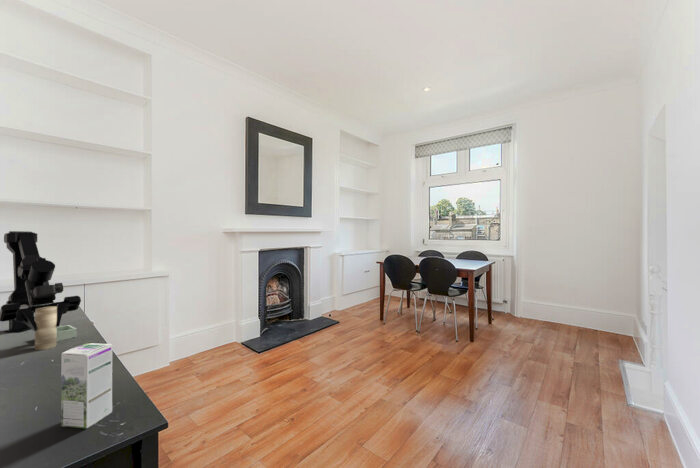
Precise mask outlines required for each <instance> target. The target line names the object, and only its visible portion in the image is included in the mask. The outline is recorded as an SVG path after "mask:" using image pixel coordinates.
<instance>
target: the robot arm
mask: <svg viewBox="0 0 700 468" xmlns="http://www.w3.org/2000/svg"><path fill="white" fill-rule="evenodd" d="M3 243H5V245H6V249H7V250H8V251H10V252H11V254H12V261H13V262H12V263H13V264H12V266H13V267H12V268H13V288H14V289H13V291H12V292H11V293H10V295H9V296H8V298H7V299H8V300H6V303H5V304H3V305H1V306H0V322H1V323H3V322H8V329H5V330H3V331H4V332H5V333H9V332H10V333H12V332H13V333H15V332H16V333H17V332H19V333H20V332H24V331H30V330H31V329H32V331H34V332H35V331H36V330H37V327H36V323H35V309H37V308H41V307H49V306H57V327H60V326H61V325H60V324H61V321H62V316H63V315H64V314H66V313H68V312H73V311H77V310H79V307H80V304H81V302H82V299H81V296H79V295H71V296H65V297H64V298H63V301H58V302H57V301H56V299H57V298H56V295H57V294H61V293H63V292H64V285H63V282H57V283H54V284H50V282H49V281H51V280H52V277H53V275H54V272H55V268H56V264H55V263H54V262H52V261H51V260H48V259H46V257H41V255H40V251H39V249H38V245H37V243H38V233H36V232H33V231H29V230H28V231H21V230H20V231H19V230H17V231H13V230H9V231H8V232H7V233H4V235H3Z"/></svg>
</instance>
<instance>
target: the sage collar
mask: <svg viewBox="0 0 700 468" xmlns="http://www.w3.org/2000/svg"><path fill="white" fill-rule="evenodd" d="M73 337H74V338H78V328H76V327H75V326H72V325H70V324H67V325H59V327H57V342H58V341H65V340H68V339H73Z"/></svg>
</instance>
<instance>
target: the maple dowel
mask: <svg viewBox="0 0 700 468" xmlns="http://www.w3.org/2000/svg"><path fill="white" fill-rule="evenodd" d="M34 317H35V323H36V327H37V330H36V331H34V350H35V351H43V350H48V349H52V348H55V347H56V346H57V342H58V341H57V306H49V307H41V308H37V309H35V313H34Z"/></svg>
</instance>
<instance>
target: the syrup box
mask: <svg viewBox="0 0 700 468" xmlns="http://www.w3.org/2000/svg"><path fill="white" fill-rule="evenodd" d="M60 363H61V369H60V370H61V375H60V378H61V381H60V382H61V385H60V386H61V388H60V389H61V390H60V394H61V395H60V397H61V398H60V399H61V401H60V402H61V403H60V413H61V414H60V417H61V418H60V426H61V427H63V428H74V429H75V428H76V429H88V428H90V427H92V426H94V425H95V424H97V423H98V422H99V421H101V420H102V419H103V420H104V419H105V418H106V417H107V416H109V415H110V414H111V413H113V344H112V343H97V342H93V343H92V342H90V343H89V342H88V343H83V344H80V345H77V346H75V347H72V348H70V349H67V350H66V351H64V352H61V362H60Z"/></svg>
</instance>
